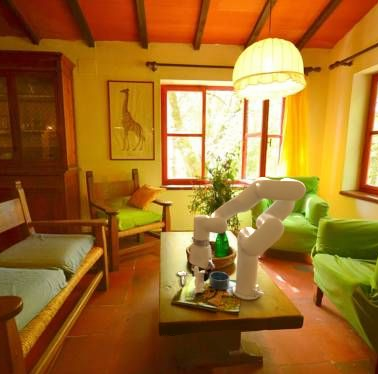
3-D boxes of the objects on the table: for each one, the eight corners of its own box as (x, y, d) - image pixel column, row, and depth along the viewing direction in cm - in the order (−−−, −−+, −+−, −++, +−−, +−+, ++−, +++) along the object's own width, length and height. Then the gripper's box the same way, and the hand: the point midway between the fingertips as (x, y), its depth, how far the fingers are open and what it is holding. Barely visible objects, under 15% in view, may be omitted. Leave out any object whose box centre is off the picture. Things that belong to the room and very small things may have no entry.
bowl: (232, 285, 127) (233, 275, 126) (222, 293, 120) (222, 283, 119) (216, 278, 133) (216, 269, 133) (205, 285, 126) (205, 276, 125)
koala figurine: (194, 295, 116) (194, 269, 115) (188, 289, 122) (188, 265, 122) (210, 292, 119) (210, 267, 119) (204, 286, 125) (203, 262, 125)
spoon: (187, 285, 126) (187, 283, 126) (179, 285, 125) (179, 284, 125) (185, 272, 139) (185, 271, 139) (177, 272, 139) (177, 271, 139)
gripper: (181, 239, 120) (181, 275, 122) (212, 248, 109) (211, 287, 111) (191, 235, 126) (191, 269, 128) (221, 243, 115) (220, 281, 117)
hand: (200, 277), depth 120 cm, fingers closed on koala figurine, 6 cm apart
